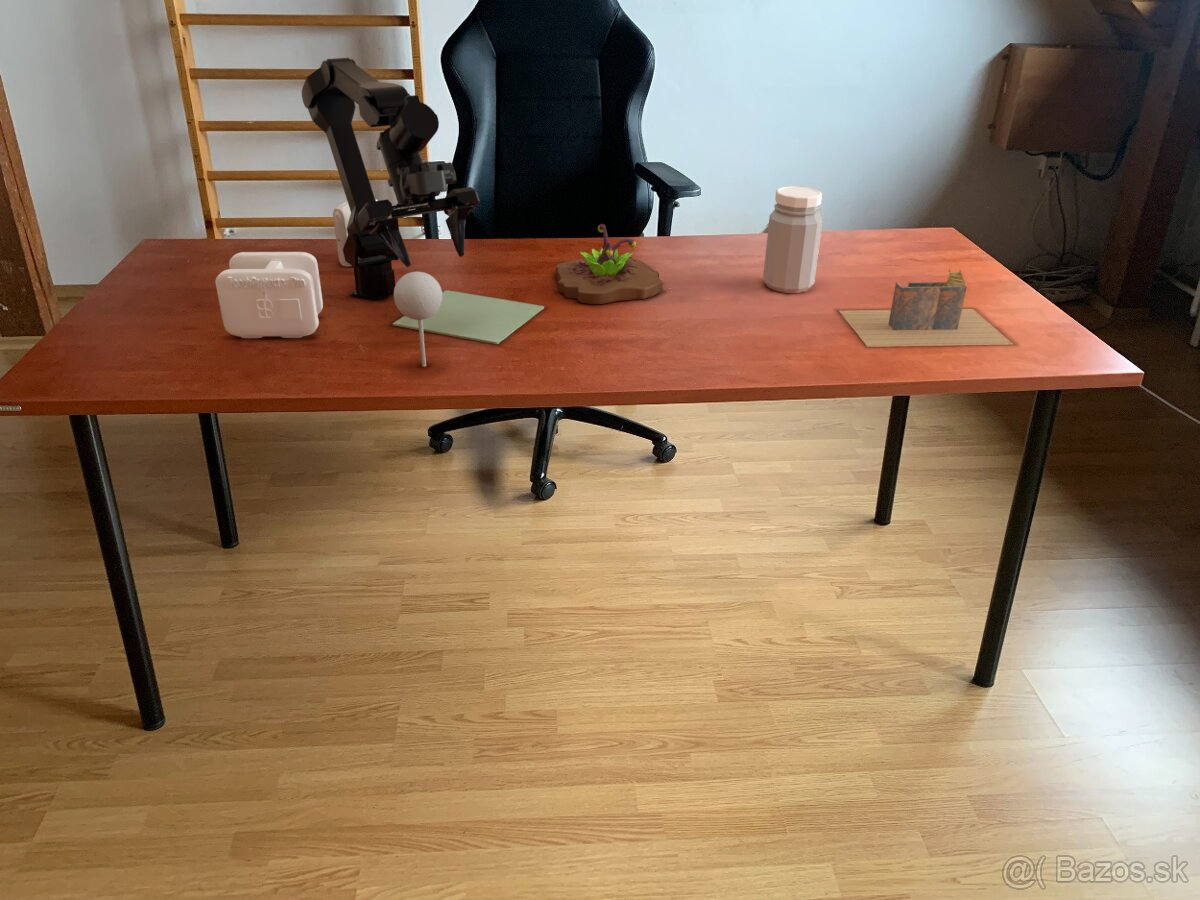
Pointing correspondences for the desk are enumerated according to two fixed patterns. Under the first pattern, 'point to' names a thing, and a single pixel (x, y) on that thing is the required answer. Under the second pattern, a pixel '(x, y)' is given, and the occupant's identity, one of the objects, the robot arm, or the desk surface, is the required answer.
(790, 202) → the jar
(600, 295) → the plant
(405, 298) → the lollipop
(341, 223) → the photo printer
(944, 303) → the ruin model on sheet
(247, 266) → the cable organizer
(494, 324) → the desk mat
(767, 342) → the desk surface
